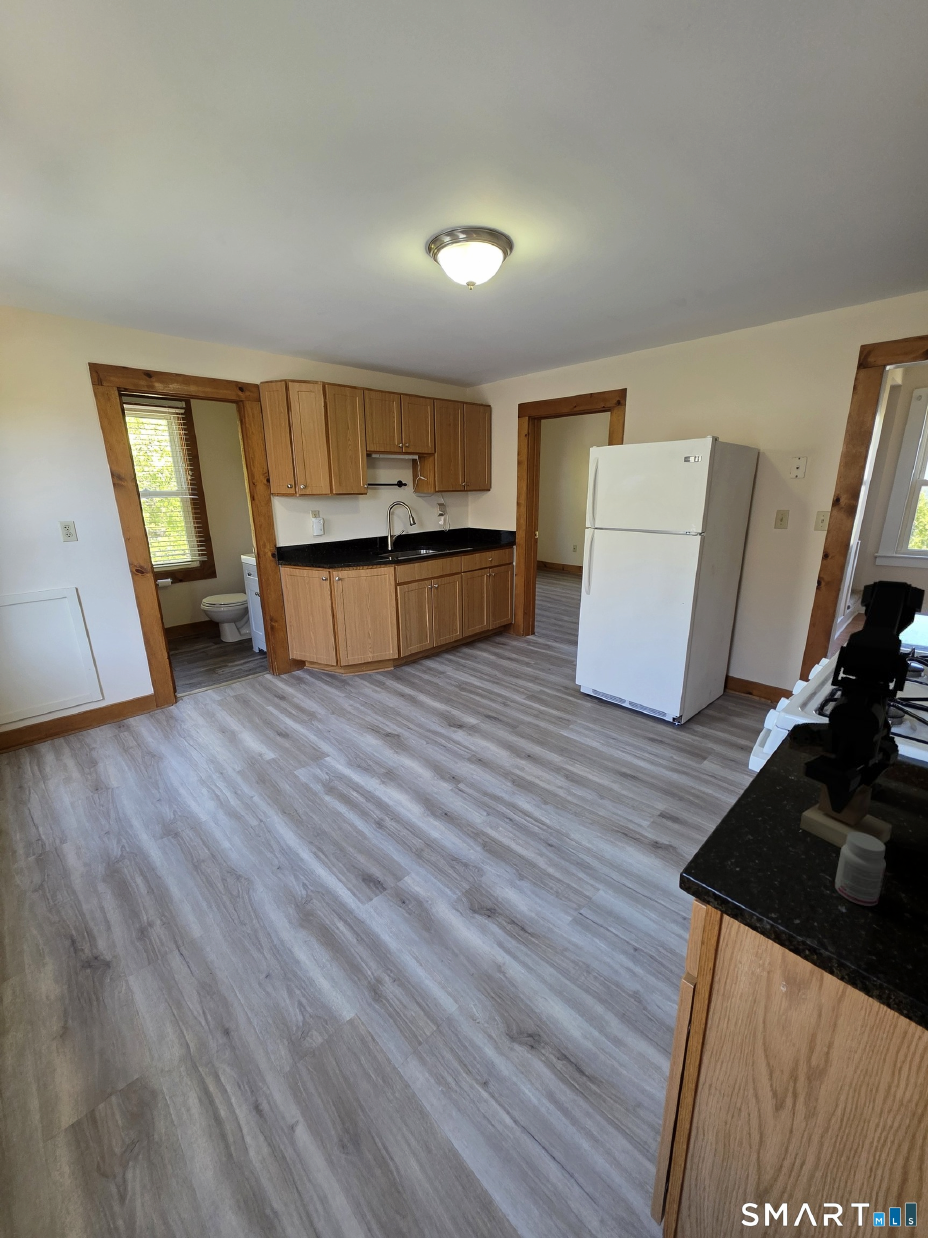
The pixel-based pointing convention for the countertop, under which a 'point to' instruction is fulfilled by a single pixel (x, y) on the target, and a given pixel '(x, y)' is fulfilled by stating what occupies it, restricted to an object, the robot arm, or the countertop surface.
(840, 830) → the maple block
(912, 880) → the countertop surface
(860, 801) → the walnut cube
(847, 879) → the pill bottle
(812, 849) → the countertop surface
